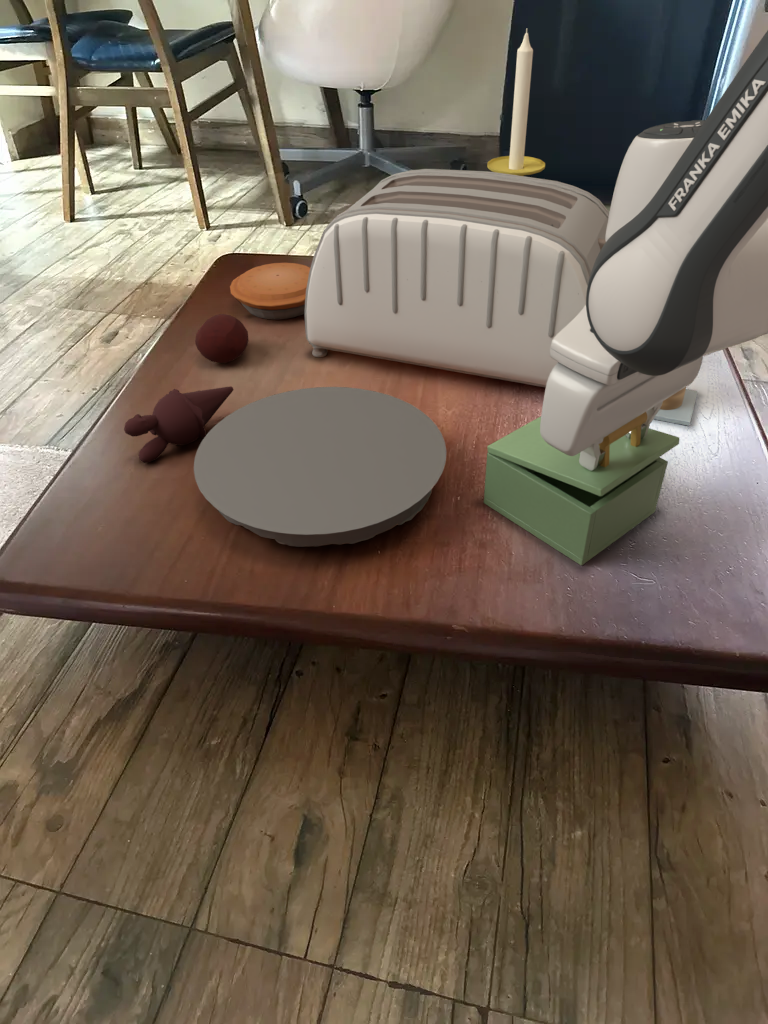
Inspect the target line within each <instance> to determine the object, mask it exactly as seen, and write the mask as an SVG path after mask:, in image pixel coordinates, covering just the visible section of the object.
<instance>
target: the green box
mask: <svg viewBox="0 0 768 1024" xmlns="http://www.w3.org/2000/svg"><path fill="white" fill-rule="evenodd" d="M668 464H669V460H666V459H664V458H662V457H661V456H660V457H659V458H657V459H656V460H654V461H653V462H652V463H650V464H649V465H647V466H646V467H644V468H643V469H641V470H640V471H638V472H637V473H635V474H634V475H632V476H631V477H629V478H628V479H626V480H625V481H623V482H622V483H620V484H619V485H617V486H616V487H614V488H613V489H611V490H610V491H609V492H607V493H606V494H604V495H603V496H598V495H596V494H593V493H590V492H588V491H585V490H583V489H580V488H578V487H575V486H572V485H570V484H567V483H565V482H562V481H560V480H557V479H555V478H552V477H549V476H547V475H544V474H542V473H539V472H537V471H534V470H531V469H529V468H526V467H524V466H521V465H519V464H516V463H514V462H511V461H508V460H506V459H503V458H501V457H498V456H496V455H493V454H490V453H488V452H487V453H486V465H485V478H484V489H483V491H484V492H483V504H485V506H487V507H489V508H491V509H492V510H494V511H495V512H497V513H499V515H502V516H503V517H505V518H507V520H510V521H511V522H513V523H514V524H515V525H517V526H518V527H520V528H522V529H523V530H525V531H526V532H528V533H530V534H531V535H532V536H534V537H536V538H537V539H539V540H540V541H542V542H543V543H545V544H547V545H549V546H550V547H552V548H553V549H554V550H556V551H558V552H559V553H561V554H562V555H564V556H566V557H567V558H568V559H570V560H571V561H573V562H575V563H576V564H578V565H580V567H581V566H583V565H585V564H586V563H587V562H588V561H590V560H592V559H593V558H594V557H596V556H597V555H598V554H600V553H601V552H602V551H604V550H606V549H607V548H608V547H609V546H610V545H612V544H614V543H615V542H617V540H619V539H620V538H622V537H623V536H624V535H626V534H628V533H629V532H630V531H632V530H633V529H634V528H636V527H637V526H638V525H640V524H641V523H642V522H644V521H645V520H646V519H648V518H649V517H650V516H652V515H653V514H654V513H656V510H657V507H658V503H659V499H660V494H661V491H662V487H663V484H664V480H665V475H666V472H667V469H668Z"/></svg>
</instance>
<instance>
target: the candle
mask: <svg viewBox="0 0 768 1024" xmlns="http://www.w3.org/2000/svg"><path fill="white" fill-rule="evenodd" d="M533 57H534V49H533V47H532V46H531V43H530V37H529V32H528V28H526V29H525V33H524V35H523V39H522V43H521V44H520V46H519V47H518V48H517V52H516V65H515V78H514V91H513V105H512V116H511V117H512V119H511V131H510V143H509V146H510V147H509V155H505V156H498V157H493V158H492V159H489V161H487V166H486V167H487V169H488V170H489V171H490V172H496V173H503V174H510V175H518V176H531V175H534V174H539V173H541V172H542V171H543V170H545V168H546V162H545V161H543V160H542V159H540V158H536V157H532V156H525V151H526V138H527V137H526V136H527V127H528V125H527V124H528V115H529V103H530V90H531V81H532V68H533Z"/></svg>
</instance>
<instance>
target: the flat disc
mask: <svg viewBox="0 0 768 1024" xmlns="http://www.w3.org/2000/svg"><path fill="white" fill-rule="evenodd" d="M446 462H447V446H446V441H445V438H444V436H443V433H442V432H441V430H440V429H439V427H438V425H437V424H436V423H435V422H434V421H433V420H432V419H431V417H430V416H428V415H427V414H426V413H425V412H423V411H422V410H421V409H419V408H418V407H417V406H415V405H413V404H412V403H409V402H407V401H406V400H403V399H401V398H398V397H395V396H393V395H391V394H387V393H383V392H380V391H375V390H369V389H366V388H365V389H364V388H358V387H350V386H349V387H348V386H316V387H306V388H298V389H294V390H293V389H292V390H287V391H284V392H279V393H275V394H272V395H269V396H266V397H262V398H260V399H257V400H255V401H253V402H250V403H247V404H246V405H243V406H242V407H239V408H238V409H235V410H234V411H233V412H231V413H229V414H228V415H226V416H225V417H224V418H222V419H221V420H220V421H218V422H217V423H216V424H215V425H214V426H213V427H212V428H211V429H210V430H209V431H208V432H207V433H206V436H205V437H204V438H202V440H201V442H200V444H199V445H198V447H197V450H196V453H195V456H194V460H193V475H194V480H195V483H196V485H197V487H198V490H199V491H200V493H201V495H203V497H204V498H205V500H206V501H207V502H208V503H210V504H211V505H212V507H214V508H215V510H217V511H218V513H219V514H220V515H221V516H222V517H223V518H224V520H226V521H227V522H229V523H231V524H234V525H236V526H242V527H243V528H245V529H247V530H249V531H250V532H252V533H253V534H256V535H257V536H259V537H260V538H266V539H273V540H274V541H276V543H278V544H281V545H287V546H289V547H296V548H297V547H299V548H300V547H302V548H303V547H309V548H310V547H322V546H330V545H339V546H340V545H344V544H350V545H353V544H356V543H359V542H362V541H368V540H370V539H372V538H374V537H375V536H376V535H380V534H382V533H385V532H387V531H389V530H391V529H393V528H395V527H396V526H397V525H398V526H401V525H403V524H404V523H405V522H409V521H411V520H413V518H414V517H415V516H416V515H417V514H418V513H420V512H421V511H422V510H423V509H424V507H425V506H426V504H427V503H428V501H429V499H430V497H431V494H432V492H433V488H434V486H436V484H437V483H438V482H439V480H440V478H441V476H442V474H443V473H444V469H445V466H446Z"/></svg>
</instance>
